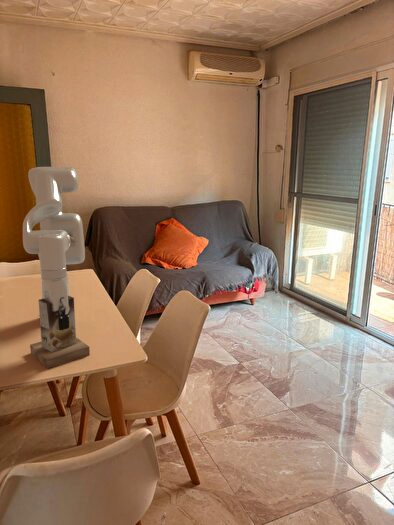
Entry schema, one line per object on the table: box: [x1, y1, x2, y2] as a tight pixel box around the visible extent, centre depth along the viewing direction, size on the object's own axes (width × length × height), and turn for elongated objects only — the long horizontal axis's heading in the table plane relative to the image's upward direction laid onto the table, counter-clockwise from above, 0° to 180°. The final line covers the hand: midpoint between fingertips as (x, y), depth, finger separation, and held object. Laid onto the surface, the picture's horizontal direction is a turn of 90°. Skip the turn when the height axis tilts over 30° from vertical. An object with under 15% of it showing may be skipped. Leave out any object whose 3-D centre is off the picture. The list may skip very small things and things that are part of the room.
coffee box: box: [38, 295, 77, 352], centre depth 128 cm, size 9×6×16 cm
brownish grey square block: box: [29, 337, 91, 370], centre depth 130 cm, size 14×14×3 cm
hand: (57, 324), depth 128 cm, fingers open, 9 cm apart
